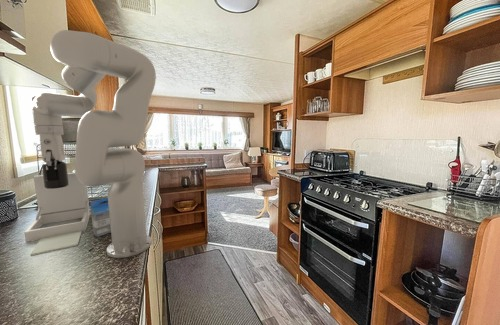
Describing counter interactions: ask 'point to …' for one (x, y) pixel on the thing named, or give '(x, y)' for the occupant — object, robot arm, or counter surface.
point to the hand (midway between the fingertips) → (56, 178)
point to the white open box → (59, 209)
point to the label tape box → (100, 217)
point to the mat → (57, 243)
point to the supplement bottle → (62, 174)
